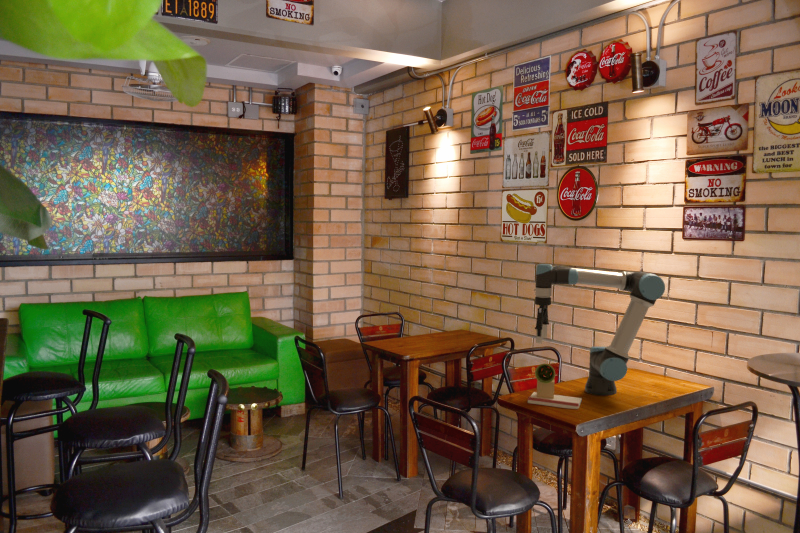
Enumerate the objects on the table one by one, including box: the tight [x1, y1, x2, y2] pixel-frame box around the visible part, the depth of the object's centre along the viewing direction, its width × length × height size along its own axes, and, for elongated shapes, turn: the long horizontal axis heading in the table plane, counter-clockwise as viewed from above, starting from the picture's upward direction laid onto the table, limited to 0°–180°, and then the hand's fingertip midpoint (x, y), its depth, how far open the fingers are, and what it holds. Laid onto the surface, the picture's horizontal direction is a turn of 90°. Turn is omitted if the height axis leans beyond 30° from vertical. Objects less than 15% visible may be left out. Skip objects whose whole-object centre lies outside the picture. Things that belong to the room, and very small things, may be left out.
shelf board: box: [527, 391, 583, 410], centre depth 283 cm, size 23×14×3 cm, turn 67°
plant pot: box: [534, 363, 556, 384], centre depth 286 cm, size 9×9×9 cm
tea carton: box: [536, 379, 555, 399], centre depth 286 cm, size 5×8×8 cm, turn 76°
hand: (541, 340), depth 285 cm, fingers open, 13 cm apart
